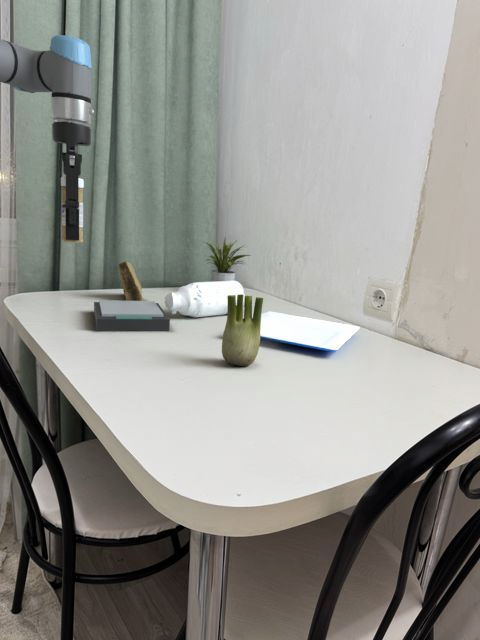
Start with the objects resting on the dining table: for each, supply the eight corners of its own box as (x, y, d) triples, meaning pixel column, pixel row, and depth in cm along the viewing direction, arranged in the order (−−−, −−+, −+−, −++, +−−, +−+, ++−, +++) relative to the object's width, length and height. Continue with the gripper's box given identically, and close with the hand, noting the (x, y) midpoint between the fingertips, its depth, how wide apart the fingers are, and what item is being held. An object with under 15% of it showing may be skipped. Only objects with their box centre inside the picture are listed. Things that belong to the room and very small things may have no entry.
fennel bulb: (259, 363, 87) (266, 294, 83) (250, 371, 82) (256, 299, 79) (228, 357, 88) (233, 289, 85) (217, 365, 84) (222, 293, 81)
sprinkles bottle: (57, 240, 110) (56, 175, 106) (75, 240, 114) (74, 177, 110) (70, 243, 108) (69, 177, 104) (88, 243, 112) (88, 179, 108)
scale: (93, 312, 112) (93, 299, 111) (157, 313, 117) (158, 300, 116) (96, 331, 97) (96, 315, 97) (169, 330, 102) (170, 316, 101)
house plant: (214, 299, 139) (218, 238, 134) (186, 289, 149) (189, 233, 144) (253, 296, 148) (258, 239, 144) (224, 287, 158) (228, 234, 153)
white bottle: (158, 315, 114) (159, 280, 112) (223, 309, 127) (225, 277, 125) (177, 323, 109) (179, 287, 106) (244, 316, 121) (246, 283, 119)
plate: (359, 335, 113) (360, 326, 113) (335, 359, 93) (337, 349, 92) (266, 319, 121) (267, 310, 120) (226, 338, 100) (226, 328, 100)
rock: (115, 284, 134) (100, 284, 125) (136, 260, 133) (122, 258, 123) (145, 312, 135) (132, 314, 125) (166, 288, 133) (154, 289, 123)
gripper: (92, 122, 98) (91, 244, 104) (89, 130, 113) (89, 236, 120) (50, 116, 95) (52, 241, 102) (53, 125, 111) (55, 233, 117)
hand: (72, 238), depth 111 cm, fingers closed on sprinkles bottle, 4 cm apart
